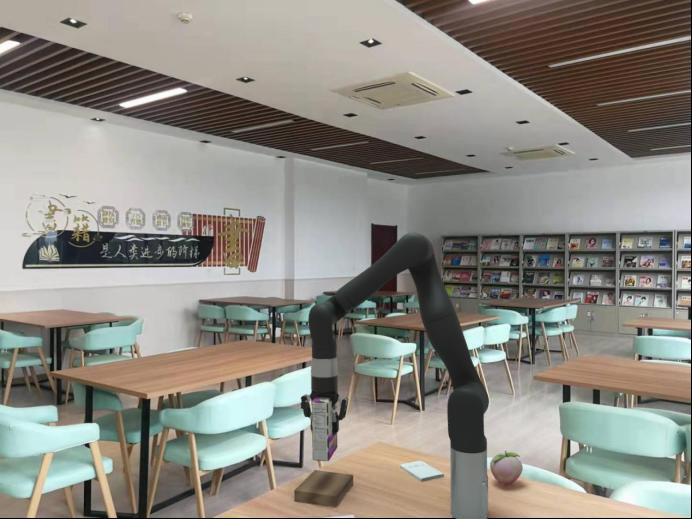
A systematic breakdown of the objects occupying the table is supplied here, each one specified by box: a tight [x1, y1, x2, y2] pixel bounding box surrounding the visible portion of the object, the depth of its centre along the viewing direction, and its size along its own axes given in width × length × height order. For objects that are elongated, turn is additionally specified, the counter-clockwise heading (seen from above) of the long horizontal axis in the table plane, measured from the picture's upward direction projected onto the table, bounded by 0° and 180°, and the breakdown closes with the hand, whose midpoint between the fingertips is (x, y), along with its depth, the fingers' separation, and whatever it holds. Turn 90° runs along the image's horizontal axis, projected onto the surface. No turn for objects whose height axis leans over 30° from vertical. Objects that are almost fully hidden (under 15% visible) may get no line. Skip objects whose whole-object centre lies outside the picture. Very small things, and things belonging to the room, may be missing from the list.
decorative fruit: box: [489, 450, 524, 486], centre depth 157 cm, size 9×8×10 cm
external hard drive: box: [399, 460, 445, 483], centre depth 167 cm, size 2×8×12 cm
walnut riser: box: [293, 469, 354, 508], centre depth 152 cm, size 12×15×3 cm
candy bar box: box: [311, 397, 338, 462], centre depth 152 cm, size 11×5×16 cm, turn 168°
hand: (324, 433), depth 152 cm, fingers closed on candy bar box, 5 cm apart
